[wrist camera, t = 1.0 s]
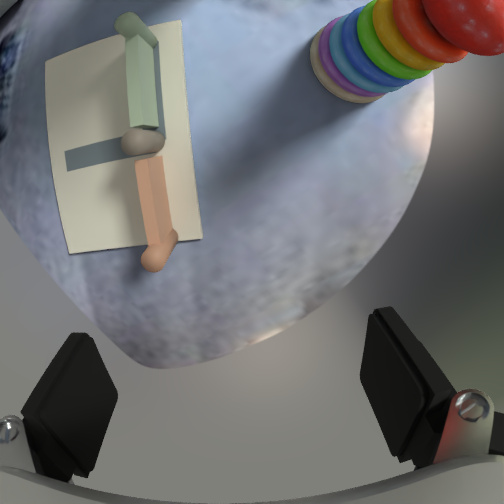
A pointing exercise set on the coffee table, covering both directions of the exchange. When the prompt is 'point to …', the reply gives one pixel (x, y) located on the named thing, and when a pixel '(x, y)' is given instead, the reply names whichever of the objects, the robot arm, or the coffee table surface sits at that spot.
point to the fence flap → (152, 196)
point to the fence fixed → (139, 70)
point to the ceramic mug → (6, 5)
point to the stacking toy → (402, 43)
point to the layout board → (116, 142)
